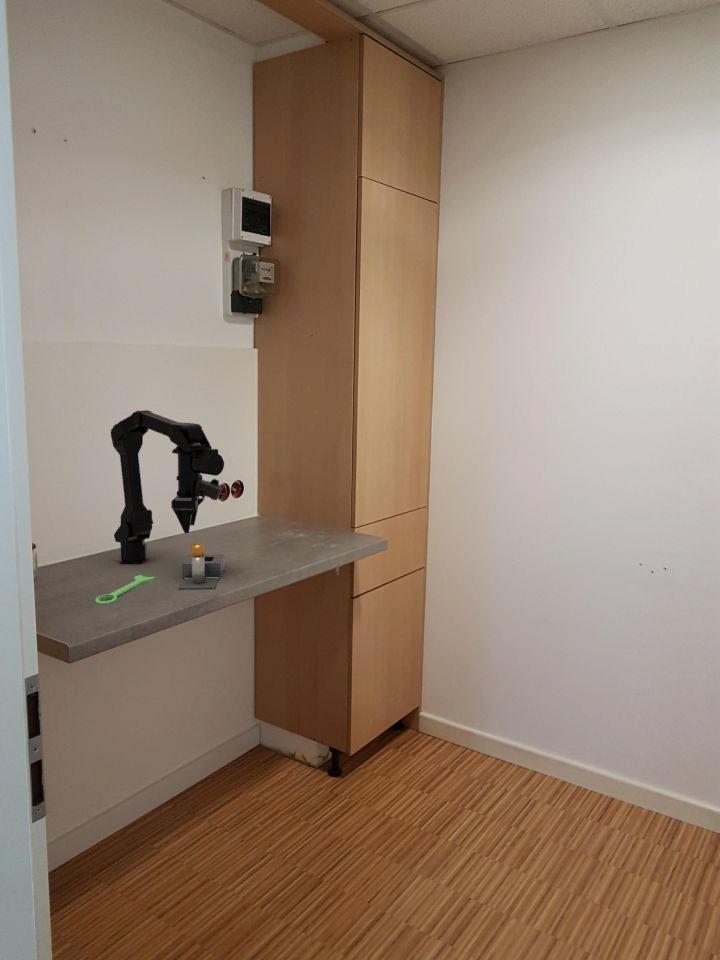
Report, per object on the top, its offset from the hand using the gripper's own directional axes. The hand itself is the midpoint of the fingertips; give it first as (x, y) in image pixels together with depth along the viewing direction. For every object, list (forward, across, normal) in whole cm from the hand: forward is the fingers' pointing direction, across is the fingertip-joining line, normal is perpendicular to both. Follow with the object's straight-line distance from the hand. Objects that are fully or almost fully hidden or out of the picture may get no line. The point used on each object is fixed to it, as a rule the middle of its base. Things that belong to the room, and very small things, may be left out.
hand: (189, 529), depth 213 cm
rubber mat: (+12, -11, -4) cm, 17 cm away
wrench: (+13, -15, +13) cm, 24 cm away
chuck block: (+12, 0, -4) cm, 13 cm away
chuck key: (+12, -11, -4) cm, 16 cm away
